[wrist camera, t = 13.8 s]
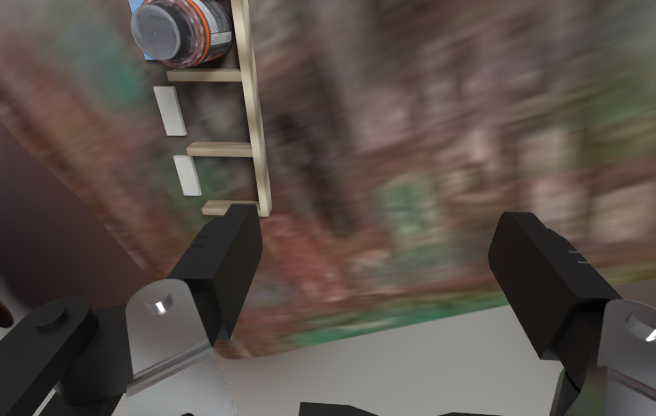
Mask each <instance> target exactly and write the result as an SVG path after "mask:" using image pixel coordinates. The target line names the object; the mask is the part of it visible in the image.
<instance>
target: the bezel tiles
mask: <svg viewBox="0 0 656 416" xmlns="http://www.w3.org/2000/svg"><path fill="white" fill-rule="evenodd" d="M143 1H144V0H129V4H130V7H131V11H132V14H133V13H134V11H135V10H136V9H137V8H138V7H140V6H141V4H142V3H143ZM143 53H144V52H143ZM144 56H145V60H156V59H153V58H151V57H149V56H148V55H146V54H145V53H144ZM153 88H154V91H155V95H156V98H157V102H158V105H159V109H160V112H161V116H162V119H163V123H164V126H165V130H166V133H167V135H173V136H185V135H187V132H186V128H185V124H184V120H183V116H182V112H181V108H180V104H179V100H178V96H177V92H176V88H175V86H155V87H153ZM173 158H174V161H175V165H176V168H177V172H178V175H179V178H180V182H181V185H182V189H183V192H184V195H189V196H201V194H202V192H201V188H200V184H199V180H198V176H197V172H196V168H195V164H194V160H193V156H188V155H175V156H174V157H173Z"/></svg>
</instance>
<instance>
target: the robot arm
mask: <svg viewBox="0 0 656 416" xmlns="http://www.w3.org/2000/svg"><path fill="white" fill-rule="evenodd" d="M261 254H262V236H261V230H260V223H259V216H258V210H257V206H256V205H255V204H245V203H232V204H231V205H230V207H229V208H228V210H227V211H226V213H225V214H224V216H223V217H216V218H214V219H213V220H212V221H210V222H209V223H207V224H206V225H204V226H203V228H202V229H201V231H200V232H199V233H198V235H197V236H196V239H194V240H193V242H192V243H191V245H190V247H188V249H187V250H186V252H185V253H184V254H183V256H182V257H181V259H180V260H179V262H178V263H177V264H176V266H175V267H174V269H173V270H172V271H171V273H170V274H169V276H168V277H167V278H166V279H165V280H160V281H157V282H154V283H151V284H149V285H147V286H145V287H143V288H142V289H140V290H139V291H138V292H137V293H135V294H134V295H133V297H132V298H131V299H130V300H129V302H128V303H127V304H122V305H118V306H113V307H107V308H102V309H98V310H92V309H91V306H90V305H89V303H88V302H87V301H86V299H84V298H81V297H65V298H61V299H57V300H54V301H51V302H49V303H46V304H44V305H42V306H41V307H38V308H37V309H35V310H34V311H32V312H31V313H29V314H28V315H27V316H25V318H23V319H22V320H21V321H20V322H19V323H18V324H17V325H16V326H15V327H14V328H13V329H12V330H11V331H10V332H9V333H8V334H7V335H6V336H5V337H4V338H3V339H2V340H1V341H0V416H32V415H33V414H34V413H35V411H36V410H37V408H38V407H39V406H40V405H41V403H42V402H43V401H44V399H45V398H46V397H47V395H48V394H49V393H50V391H51V390H52V389H53V388H54V389H55V390H56V392H55V394H54V395H53V397H52V398H51V399H50V401H49V402H48V403H47V405H46V406H45V407H44V409H43V410H42V412H41V413H40V414H39V416H111V415H112V413H113V412H114V410H115V408H116V406H117V404H118V403H119V401H120V399H121V397H122V395H123V393H126V394H127V406H128V416H238V415H237V412H236V410H235V407H234V404H233V402H232V399H231V396H230V394H229V391H228V388H227V386H226V383H225V380H224V378H223V375H222V372H221V370H220V367H219V364H218V362H217V359H216V357H215V354H214V351H213V349H212V348H213V345H214V343H215V341H216V340H230V338H231V335H232V332H233V330H234V327H235V324H236V322H237V319H238V317H239V314H240V311H241V309H242V306H243V303H244V301H245V298H246V295H247V293H248V290H249V288H250V285H251V282H252V280H253V277H254V274H255V272H256V269H257V267H258V264H259V261H260V259H261ZM488 260H489V266H490V268H491V270H492V272H493V274H494V276H495V278H496V279H497V281H498V283H499V285H500V287H501V289H502V290H503V292H504V294H505V296H506V298H507V300H508V302H509V303H510V305H511V307H512V309H513V311H514V313H515V314H516V316H517V318H518V320H519V322H520V323H521V325H522V327H523V329H524V331H525V333H526V335H527V336H528V338H529V340H530V342H531V344H532V346H533V347H534V349H535V351H536V352H537V355H538V357H539V358H540V359H541V360H559V361H561V363H562V365H563V366H564V368H563V370H562V371H561V373H560V375H559V378H558V382H557V386H556V390H555V395H554V398H553V402H552V407H551V410H550V415H549V416H656V309H654V308H652V307H650V306H648V305H645V304H642V303H639V302H635V301H632V300H626V299H623V298H622V297H621V296H620V295H619V294H618V293H617V292H616V291H615V290H614V289H613V288H612V287H611V286H610V285H609V284H608V282H607V281H606V280H605V279H604V278H603V277H602V276H601V275H600V274H599V273H598V272H597V271H596V270H595V269H594V268H593V267H592V266H591V265H590V264H587V260H586V259H585V258H584V257H583V256H582V255H581V254H580V253H577V250H576V249H575V248H574V247H573V246H572V245H571V244H570V243H569V242H568V241H567V240H566V239H565V238H564V237H562V236H560V235H559V234H557V233H556V232H554V231H552V230H551V229H547V228H546V227H545V226H544V225H543V223H542V222H541V221H540V220H539V219H538V218H537V217H536V216H535V215H534V214H533V213H530V212H504V213H503V214H502V215H501V217H500V219H499V222H498V225H497V228H496V231H495V234H494V237H493V240H492V243H491V246H490V249H489V253H488ZM299 416H378V415H375V414H372V413H369V412H367V411H364V410H361V409H358V408H356V407H353V406H350V405H337V404H323V403H309V402H301V403H300V410H299ZM440 416H498V415H484V414H469V413H455V412H452V413H448V414H444V415H440Z"/></svg>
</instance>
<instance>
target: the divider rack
mask: <svg viewBox="0 0 656 416" xmlns="http://www.w3.org/2000/svg"><path fill="white" fill-rule="evenodd" d="M231 6H232V13H233V20H234V27H235V34H236V41H237V48H238V55H239V62H240V69H239V68H177V69H173V70H170V71H167V72H166V73H167V76H168V80H169V81H242V83H243V90H244V97H245V104H246V111H247V118H248V125H249V132H250V139H251V143H249V142H194V143H192V144H191V145H190V146H188V147H187V148H186V150H187V154H188V156H226V157H253V160H254V167H255V174H256V181H257V188H258V195H259V201H232V200H208V201H207V203H206V204H205V205H204V206H203V208H202V211H203V215H224V214H225V213H226V211H227V210H228V208H229V207H230V205H231V204H232V203H245V204H255V205H256V206H257V210H258V216H264V217H269V214H270V212H271V210H272V200H271V192H270V183H269V175H268V166H267V158H266V149H265V141H264V133H263V124H262V116H261V107H260V99H259V90H258V82H257V74H256V65H255V57H254V48H253V40H252V31H251V23H250V15H249V6H248V0H231Z"/></svg>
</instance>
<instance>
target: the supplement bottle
mask: <svg viewBox="0 0 656 416" xmlns="http://www.w3.org/2000/svg"><path fill="white" fill-rule="evenodd" d="M131 32H132V35H133V38H134V40H135V42H136V44H137V45H138V47H139V48H140V49H141V50H142V51H143V52H144V53H145V54H146V55H148V56H149V57H151V58H153V59H156V60H159V61H161V62H162V63H164V64H166V65H168V66H170V67H174V68H188V67H191V66H195V65H198V64H201V63H204V62H207V61H210V60H214V59H216V58H219V57H221V56H222V55H224V54H225V53H226V52H227V51H228V50H229V48H230V47H231V45H232V42H233V25H232V22H231V19H230V17H229V15H228V13H227V12H226V10H225V9H224V8H223V7H222V6H221V5H220V4H219V3H218V2H216V1H215V0H144V1H143V3H142V4H141V6H140V7H138V8H137V9H136V10H135V11H134V13H133V15H132V17H131Z"/></svg>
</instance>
